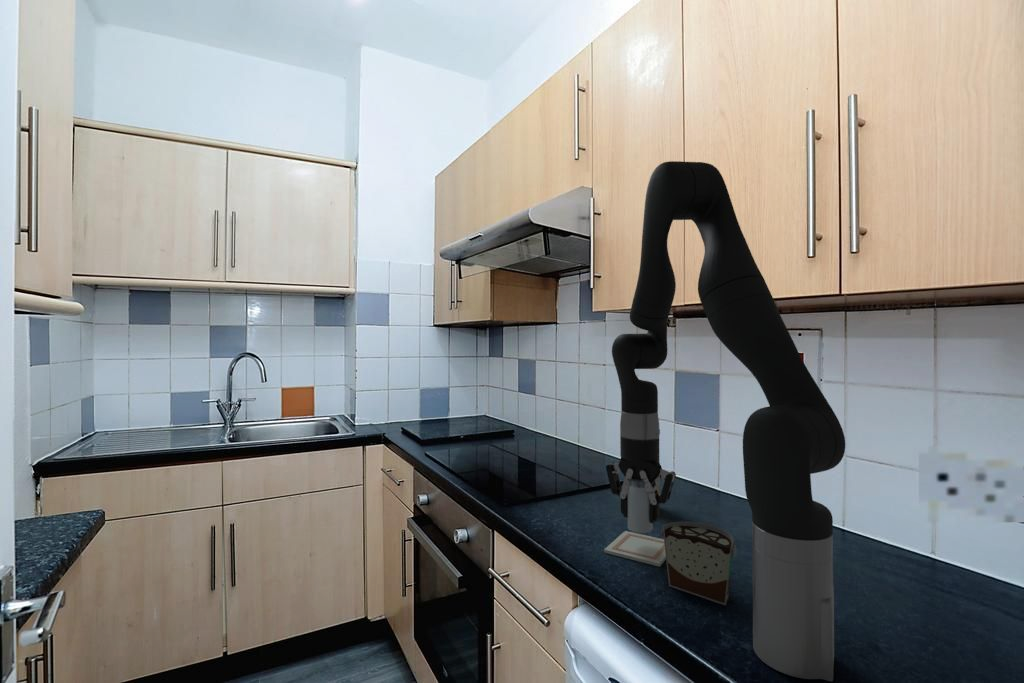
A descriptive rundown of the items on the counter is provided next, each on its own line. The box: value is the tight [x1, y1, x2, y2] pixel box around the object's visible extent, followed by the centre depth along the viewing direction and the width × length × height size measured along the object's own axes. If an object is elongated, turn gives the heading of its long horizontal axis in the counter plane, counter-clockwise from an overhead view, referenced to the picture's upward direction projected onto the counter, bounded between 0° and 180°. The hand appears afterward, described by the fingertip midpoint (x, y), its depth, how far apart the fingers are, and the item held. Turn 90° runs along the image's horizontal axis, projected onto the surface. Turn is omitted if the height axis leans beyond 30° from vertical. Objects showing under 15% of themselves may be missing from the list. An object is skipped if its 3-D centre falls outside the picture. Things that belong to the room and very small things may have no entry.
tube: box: [627, 479, 654, 534], centre depth 98 cm, size 5×5×10 cm
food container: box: [659, 521, 738, 606], centre depth 83 cm, size 12×6×10 cm, turn 48°
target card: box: [603, 530, 666, 568], centre depth 98 cm, size 11×11×1 cm
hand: (640, 518), depth 98 cm, fingers closed on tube, 4 cm apart
